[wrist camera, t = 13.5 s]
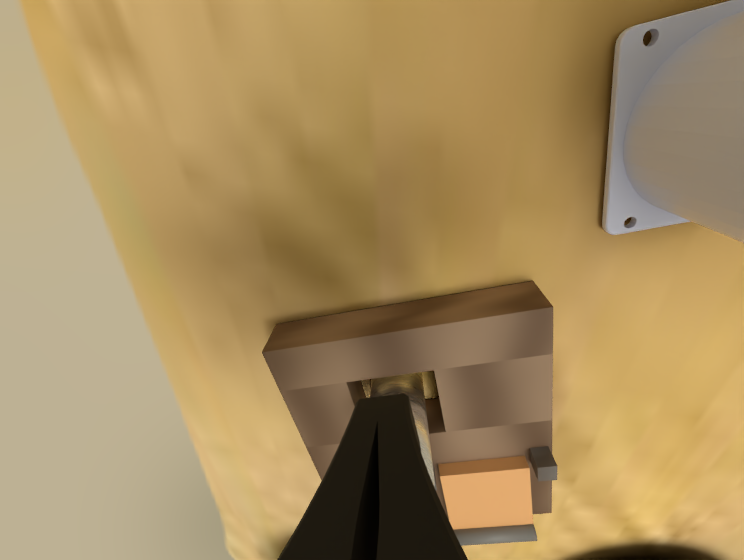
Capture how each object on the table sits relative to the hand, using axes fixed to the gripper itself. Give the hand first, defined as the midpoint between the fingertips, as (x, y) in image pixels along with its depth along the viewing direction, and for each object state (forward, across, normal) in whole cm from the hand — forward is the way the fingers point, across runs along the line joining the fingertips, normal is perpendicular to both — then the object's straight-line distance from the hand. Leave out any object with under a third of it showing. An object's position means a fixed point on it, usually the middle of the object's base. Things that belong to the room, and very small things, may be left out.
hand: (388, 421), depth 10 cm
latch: (+7, -3, +15) cm, 17 cm away
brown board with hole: (+9, 0, +10) cm, 14 cm away
